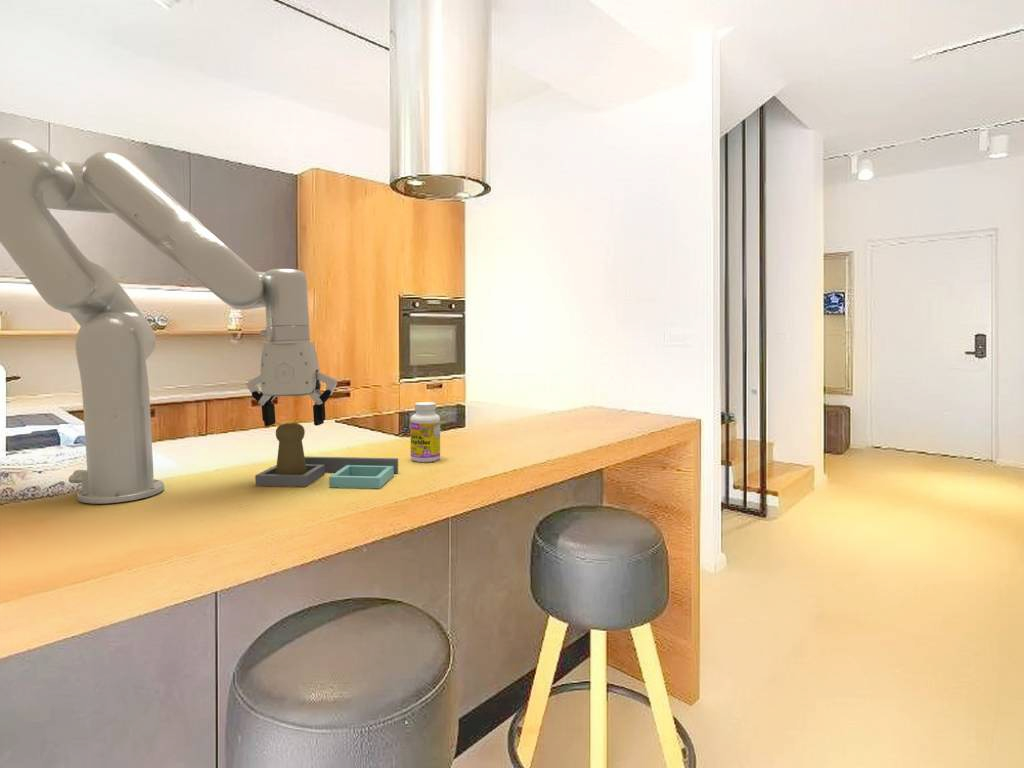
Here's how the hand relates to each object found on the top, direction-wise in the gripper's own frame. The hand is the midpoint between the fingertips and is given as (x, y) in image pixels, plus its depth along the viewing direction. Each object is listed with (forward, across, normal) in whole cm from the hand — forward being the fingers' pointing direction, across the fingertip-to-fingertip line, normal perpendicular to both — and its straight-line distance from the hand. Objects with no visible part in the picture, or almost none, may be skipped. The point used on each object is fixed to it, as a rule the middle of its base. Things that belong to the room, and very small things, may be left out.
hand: (294, 424), depth 111 cm
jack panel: (+11, +6, +1) cm, 12 cm away
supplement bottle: (+12, +21, +20) cm, 31 cm away
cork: (+11, -1, 0) cm, 11 cm away
